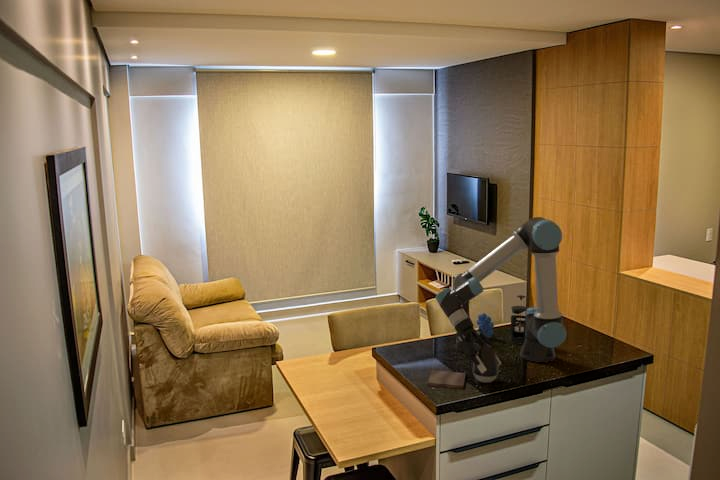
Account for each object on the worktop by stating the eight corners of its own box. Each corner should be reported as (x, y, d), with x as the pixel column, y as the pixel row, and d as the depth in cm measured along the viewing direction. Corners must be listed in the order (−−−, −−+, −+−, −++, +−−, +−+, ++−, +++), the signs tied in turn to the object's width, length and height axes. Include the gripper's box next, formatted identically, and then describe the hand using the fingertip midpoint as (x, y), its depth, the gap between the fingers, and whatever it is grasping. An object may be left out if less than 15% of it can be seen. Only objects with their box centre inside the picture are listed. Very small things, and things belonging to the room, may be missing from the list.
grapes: (470, 335, 307) (471, 312, 305) (480, 333, 310) (481, 310, 309) (486, 341, 297) (487, 317, 295) (496, 339, 301) (497, 315, 299)
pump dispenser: (469, 376, 252) (470, 340, 250) (493, 375, 253) (494, 340, 250) (475, 385, 242) (476, 349, 240) (501, 384, 243) (502, 348, 240)
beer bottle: (454, 351, 282) (455, 301, 279) (457, 346, 289) (459, 297, 286) (470, 353, 279) (472, 303, 276) (474, 348, 287) (475, 299, 283)
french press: (534, 343, 294) (536, 297, 290) (517, 345, 291) (519, 299, 287) (519, 336, 305) (521, 292, 301) (503, 338, 302) (505, 293, 298)
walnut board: (465, 375, 252) (465, 373, 252) (462, 388, 239) (463, 385, 238) (431, 372, 255) (432, 370, 255) (427, 385, 242) (427, 382, 242)
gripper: (472, 322, 263) (501, 366, 254) (439, 332, 248) (469, 380, 239) (482, 312, 258) (513, 357, 249) (449, 322, 243) (481, 370, 234)
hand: (491, 368), depth 244 cm, fingers closed on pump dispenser, 9 cm apart
